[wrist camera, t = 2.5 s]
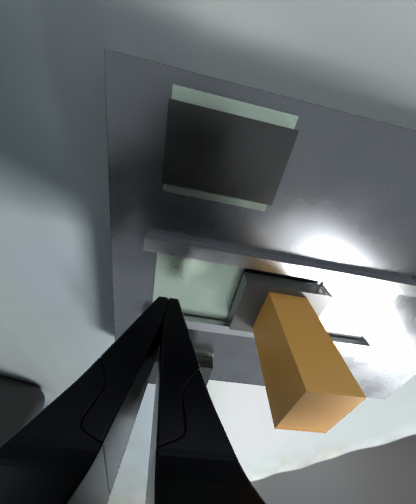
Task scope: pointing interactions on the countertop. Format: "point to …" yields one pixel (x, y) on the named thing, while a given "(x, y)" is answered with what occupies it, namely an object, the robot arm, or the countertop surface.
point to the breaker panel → (259, 215)
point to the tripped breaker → (295, 352)
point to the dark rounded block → (17, 406)
